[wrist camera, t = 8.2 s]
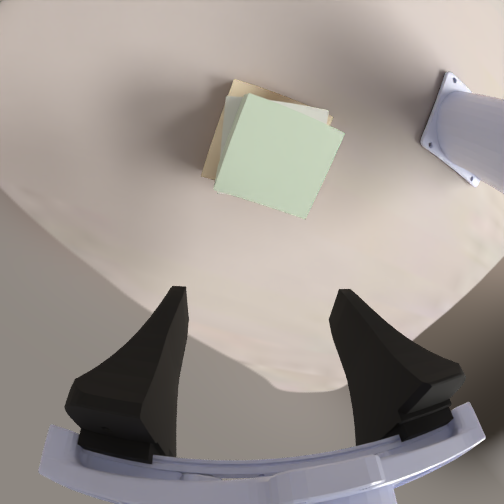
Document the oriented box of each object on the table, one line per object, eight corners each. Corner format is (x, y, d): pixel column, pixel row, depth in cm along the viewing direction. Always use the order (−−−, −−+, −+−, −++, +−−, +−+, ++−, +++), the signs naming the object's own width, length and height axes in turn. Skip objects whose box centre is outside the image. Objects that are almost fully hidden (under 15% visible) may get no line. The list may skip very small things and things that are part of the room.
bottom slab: (323, 114, 18) (333, 117, 17) (289, 195, 22) (295, 205, 20) (234, 81, 17) (234, 78, 15) (203, 168, 20) (200, 176, 18)
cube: (316, 123, 15) (345, 133, 11) (287, 188, 17) (305, 219, 13) (244, 94, 14) (249, 93, 10) (217, 165, 16) (213, 189, 12)
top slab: (318, 108, 16) (328, 110, 14) (303, 190, 19) (311, 202, 17) (226, 96, 16) (226, 95, 14) (218, 183, 19) (217, 193, 17)
